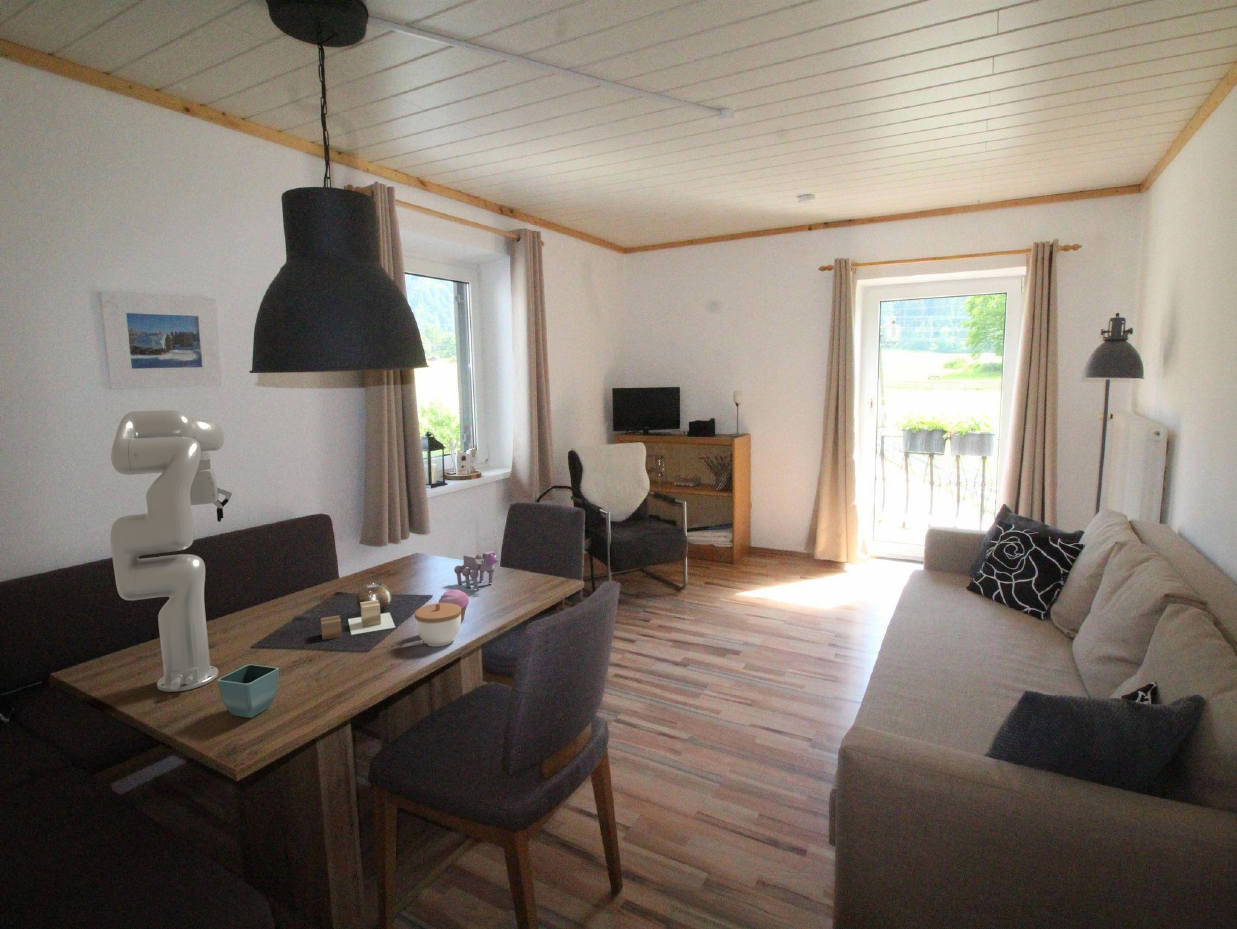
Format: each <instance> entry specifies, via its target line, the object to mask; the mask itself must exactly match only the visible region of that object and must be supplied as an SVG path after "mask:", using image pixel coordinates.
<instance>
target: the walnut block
mask: <svg viewBox="0 0 1237 929" xmlns="http://www.w3.org/2000/svg"><path fill="white" fill-rule="evenodd" d="M320 624H321V627H320V628H321V640H322V641H327V640H332V639H338V638H343V632H342V620H341V615H340V614H339V615H332V616H326V617H321V618H320Z"/></svg>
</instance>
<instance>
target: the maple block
mask: <svg viewBox="0 0 1237 929" xmlns="http://www.w3.org/2000/svg"><path fill="white" fill-rule="evenodd" d="M359 604H360V615H361V616H360V617H361V620H362V625H363V627H368V626H374V625H380V624H381V615H380V614H381V605H380V601H379V599H375V600H368V601H367V600H366V601H361V602H359Z"/></svg>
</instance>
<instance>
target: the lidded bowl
mask: <svg viewBox="0 0 1237 929" xmlns="http://www.w3.org/2000/svg"><path fill="white" fill-rule="evenodd" d="M414 619H415V621H414V622H415V627H416V631H417V634H418V636H419V638H420V639H421V641H423V642H424V643H426V644H425V645H427V646H429V647H433V648H434V647H435V648H437V647H444V646H448V645H450V644H452V643H453V641H454V639H455V638H456V637H457V635H458V634H459V632H460V629H461V624H462V621H461V607H460V606H459V605H456V604H451V603H438V602H436V603H431V604H427V605H424V606H422V607H419V608H418V609H416V610H415V611H414Z"/></svg>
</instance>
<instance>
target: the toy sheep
mask: <svg viewBox="0 0 1237 929" xmlns="http://www.w3.org/2000/svg"><path fill="white" fill-rule="evenodd" d="M462 557H463V564H462V565H456V566H455V567H454V573H455V574H456V578H457V585H458V584H459V585H458V586H461V585H463V582H462V576H463V577H464V578H465V580H464V581H465V586H466V588H467V587H470V588H471V583H470V582H471V581H470V578H471V579H473V580H472V582H473V589H478V590H479V583H478V577H479V581H483V582H484V574H485V572H486V573H487V574H488V584H489V583H492V584H493V576H494V573H495V571H496V567H495V566H494V564H496V563H498V562H499V559H498V558H497V552H496V551H494V550H489V551H485V552H482V553H478V554H474V553H468V554H463V556H462ZM460 584H461V585H460Z"/></svg>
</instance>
